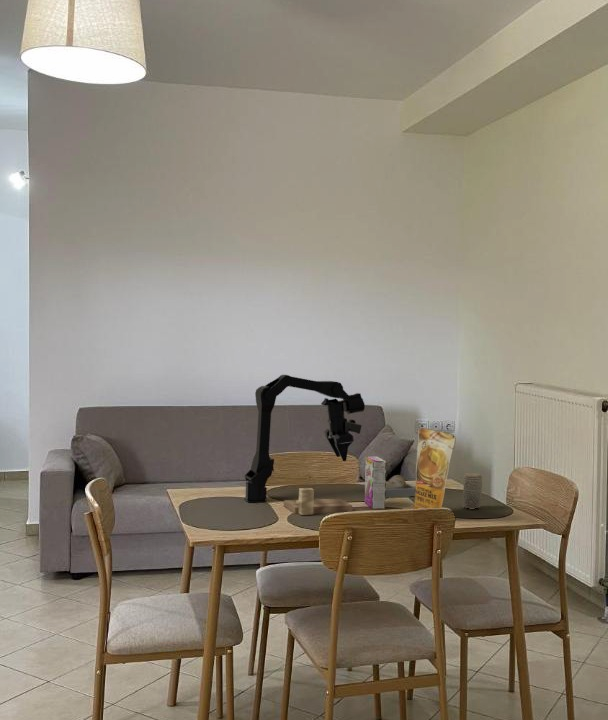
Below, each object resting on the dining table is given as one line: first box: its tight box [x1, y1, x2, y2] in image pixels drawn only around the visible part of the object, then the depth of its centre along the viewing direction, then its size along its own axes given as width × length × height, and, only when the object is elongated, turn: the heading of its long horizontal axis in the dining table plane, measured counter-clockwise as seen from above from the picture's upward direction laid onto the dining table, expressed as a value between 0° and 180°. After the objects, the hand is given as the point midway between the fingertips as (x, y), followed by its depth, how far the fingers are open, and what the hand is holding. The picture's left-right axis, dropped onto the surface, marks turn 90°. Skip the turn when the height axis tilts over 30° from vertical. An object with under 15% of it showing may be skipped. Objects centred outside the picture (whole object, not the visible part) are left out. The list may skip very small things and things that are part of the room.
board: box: [283, 498, 353, 515], centre depth 279 cm, size 20×12×2 cm, turn 109°
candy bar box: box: [364, 455, 387, 510], centre depth 286 cm, size 11×5×16 cm, turn 9°
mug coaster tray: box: [385, 483, 416, 498], centre depth 311 cm, size 15×14×3 cm
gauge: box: [295, 487, 315, 516], centre depth 272 cm, size 4×9×8 cm, turn 19°
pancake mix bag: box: [413, 427, 457, 510], centre depth 273 cm, size 7×19×28 cm, turn 23°
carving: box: [461, 472, 483, 509], centre depth 287 cm, size 6×8×12 cm
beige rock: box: [386, 474, 407, 489], centre depth 310 cm, size 8×10×10 cm
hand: (341, 458), depth 300 cm, fingers open, 9 cm apart
